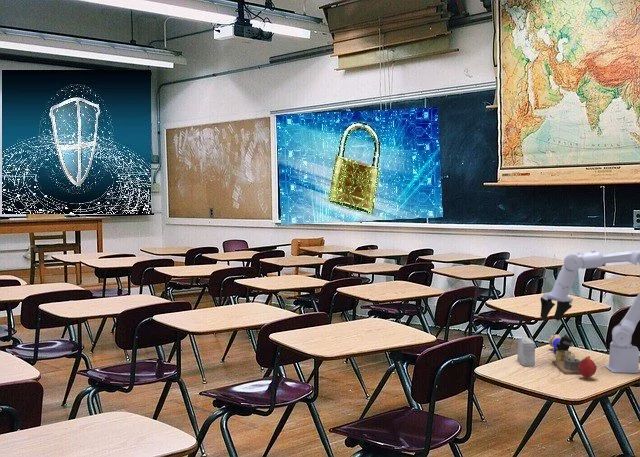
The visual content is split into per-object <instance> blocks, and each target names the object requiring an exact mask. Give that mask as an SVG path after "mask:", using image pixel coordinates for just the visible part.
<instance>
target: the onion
mask: <svg viewBox="0 0 640 457" xmlns="http://www.w3.org/2000/svg"><path fill="white" fill-rule="evenodd" d="M578 371H579V373H580V374H581V376H582V377H583V378H584V379H587V380H588V379H589V378H592V376H594V375H595V374H596V372H597V365H596V363H595V362H594V360H593V359H591V356H590V355H587V356H586V357H585V358H583V359H581V360H580V363H579V366H578Z"/></svg>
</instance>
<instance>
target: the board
mask: <svg viewBox="0 0 640 457" xmlns="http://www.w3.org/2000/svg"><path fill="white" fill-rule="evenodd" d="M569 352H570V350H568V351H565V358H564V361H556V360H552V361H551V364H552V365H553V366H554V367H556V368H557V369H558V370H559V371H560V372H561V373H562V374H564V375H581V374H580V373H579V371H578V366H579V363H580V361H581V360H580V359H579V358H576V356H575V355H571V358H569ZM581 376H582V375H581Z"/></svg>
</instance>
